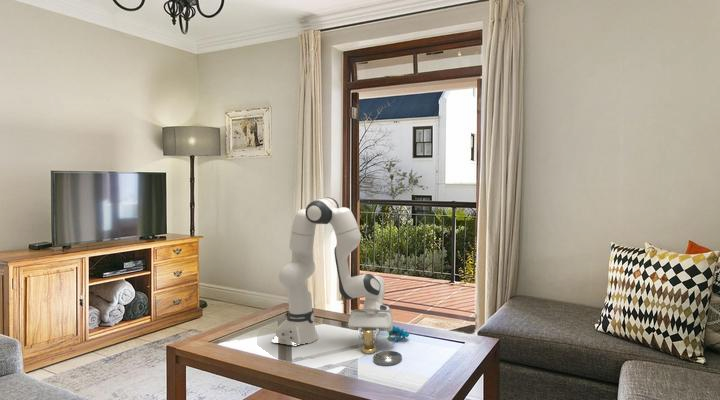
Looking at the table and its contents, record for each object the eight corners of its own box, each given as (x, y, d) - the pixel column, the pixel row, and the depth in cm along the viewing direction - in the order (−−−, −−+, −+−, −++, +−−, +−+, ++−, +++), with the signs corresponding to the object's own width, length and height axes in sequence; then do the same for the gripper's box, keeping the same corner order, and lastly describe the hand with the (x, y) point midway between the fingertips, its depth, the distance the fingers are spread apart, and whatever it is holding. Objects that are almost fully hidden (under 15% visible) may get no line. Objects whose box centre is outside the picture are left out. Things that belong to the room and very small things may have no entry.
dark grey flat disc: (369, 364, 184) (369, 361, 184) (377, 352, 196) (377, 349, 196) (398, 366, 181) (398, 363, 180) (404, 354, 192) (404, 351, 192)
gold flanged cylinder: (360, 353, 196) (358, 332, 195) (364, 347, 202) (363, 327, 201) (374, 354, 194) (372, 333, 193) (378, 348, 200) (376, 327, 199)
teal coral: (413, 335, 208) (401, 325, 203) (409, 347, 205) (397, 337, 200) (395, 333, 215) (383, 323, 210) (391, 345, 212) (379, 335, 207)
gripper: (349, 305, 206) (343, 334, 198) (392, 307, 200) (388, 336, 191) (352, 312, 211) (347, 340, 202) (395, 313, 204) (391, 342, 196)
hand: (368, 338), depth 197 cm, fingers closed on gold flanged cylinder, 4 cm apart
